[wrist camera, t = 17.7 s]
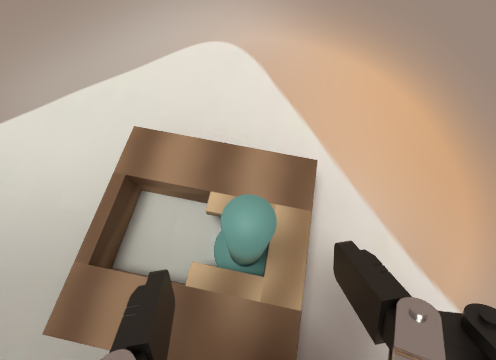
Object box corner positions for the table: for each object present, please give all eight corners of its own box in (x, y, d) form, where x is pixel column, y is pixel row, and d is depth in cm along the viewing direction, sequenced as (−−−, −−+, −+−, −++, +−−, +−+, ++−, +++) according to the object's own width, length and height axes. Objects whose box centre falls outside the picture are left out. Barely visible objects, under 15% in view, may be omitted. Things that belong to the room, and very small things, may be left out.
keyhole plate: (74, 327, 20) (42, 334, 17) (147, 146, 26) (133, 126, 23) (283, 375, 19) (292, 393, 16) (307, 176, 25) (317, 160, 22)
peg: (209, 276, 21) (180, 265, 11) (223, 218, 23) (209, 163, 13) (269, 289, 21) (295, 289, 11) (278, 229, 23) (308, 182, 13)
